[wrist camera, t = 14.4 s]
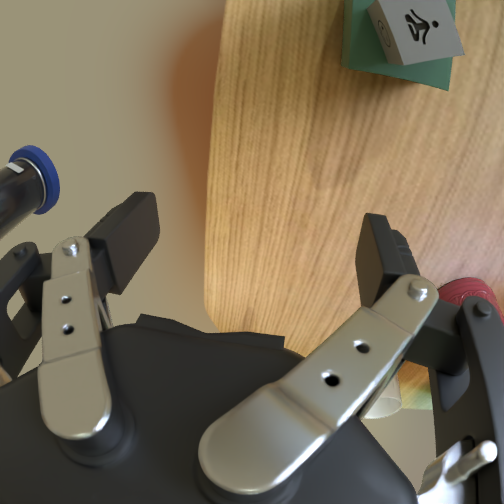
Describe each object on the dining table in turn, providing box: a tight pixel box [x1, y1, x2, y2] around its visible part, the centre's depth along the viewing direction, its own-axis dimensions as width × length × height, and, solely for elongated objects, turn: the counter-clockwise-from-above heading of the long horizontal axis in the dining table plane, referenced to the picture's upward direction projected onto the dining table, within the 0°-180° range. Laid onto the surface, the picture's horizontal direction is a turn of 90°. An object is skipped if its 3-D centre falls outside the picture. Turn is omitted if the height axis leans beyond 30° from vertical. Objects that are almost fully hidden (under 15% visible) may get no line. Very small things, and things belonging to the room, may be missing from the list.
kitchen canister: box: [438, 278, 504, 325], centre depth 36 cm, size 13×13×18 cm
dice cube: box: [366, 0, 465, 65], centre depth 17 cm, size 5×5×5 cm
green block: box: [341, 0, 456, 91], centre depth 22 cm, size 9×9×8 cm
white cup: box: [364, 374, 402, 419], centre depth 49 cm, size 8×8×10 cm
